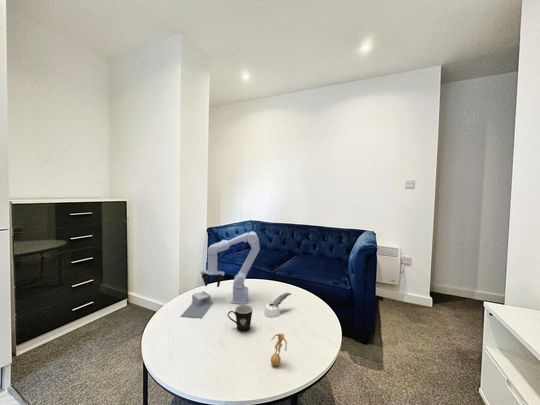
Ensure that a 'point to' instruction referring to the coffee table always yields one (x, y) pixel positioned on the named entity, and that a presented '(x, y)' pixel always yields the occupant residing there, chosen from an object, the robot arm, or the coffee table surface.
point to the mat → (196, 310)
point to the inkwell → (275, 306)
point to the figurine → (275, 357)
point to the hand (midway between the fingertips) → (212, 286)
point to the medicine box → (201, 298)
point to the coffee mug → (242, 317)
